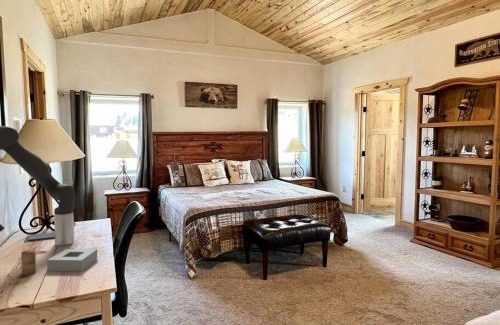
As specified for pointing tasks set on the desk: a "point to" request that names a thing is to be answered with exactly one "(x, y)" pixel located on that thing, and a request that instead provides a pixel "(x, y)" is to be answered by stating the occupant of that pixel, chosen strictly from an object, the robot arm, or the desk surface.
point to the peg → (28, 262)
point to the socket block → (72, 260)
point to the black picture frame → (40, 237)
